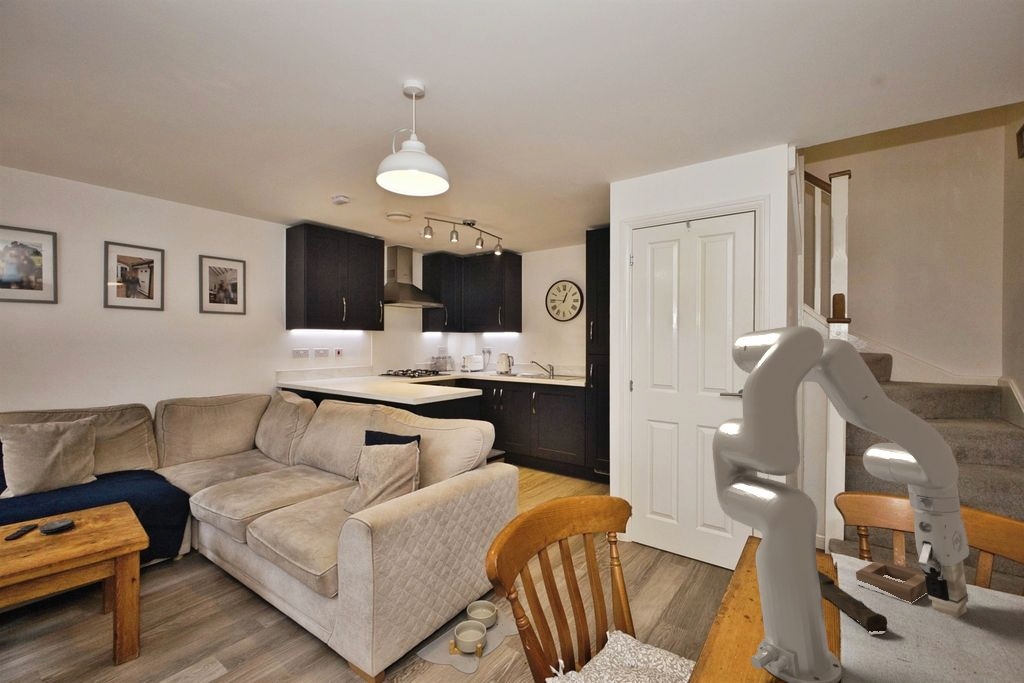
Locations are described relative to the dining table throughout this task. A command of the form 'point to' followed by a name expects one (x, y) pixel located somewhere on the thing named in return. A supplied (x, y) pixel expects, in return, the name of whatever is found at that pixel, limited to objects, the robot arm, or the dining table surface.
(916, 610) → the dining table surface
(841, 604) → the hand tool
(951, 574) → the peg
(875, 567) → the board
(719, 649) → the dining table surface
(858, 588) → the dining table surface
